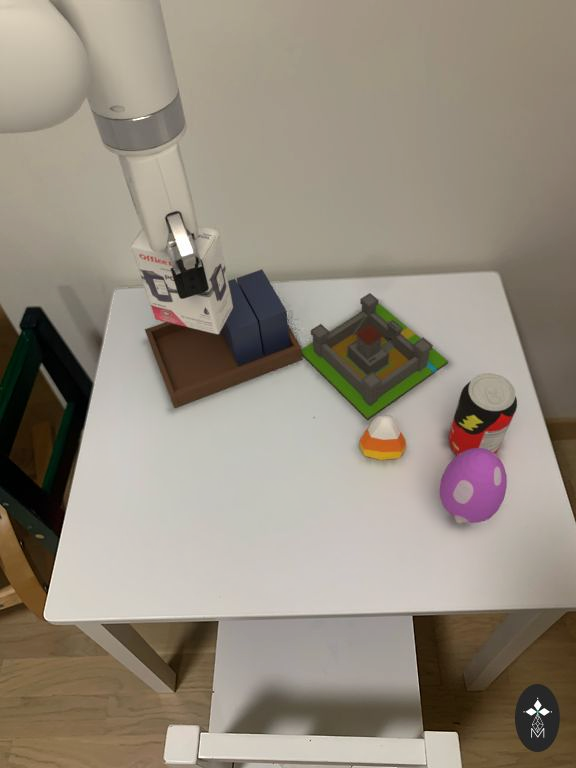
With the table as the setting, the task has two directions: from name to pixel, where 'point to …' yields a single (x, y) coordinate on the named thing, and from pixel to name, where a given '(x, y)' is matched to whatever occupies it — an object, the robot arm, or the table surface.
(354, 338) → the castle model
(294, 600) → the table surface
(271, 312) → the matching cartons
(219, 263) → the ink box
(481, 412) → the beverage can
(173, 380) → the tray
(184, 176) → the robot arm
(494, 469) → the toy
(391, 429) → the candy corn
